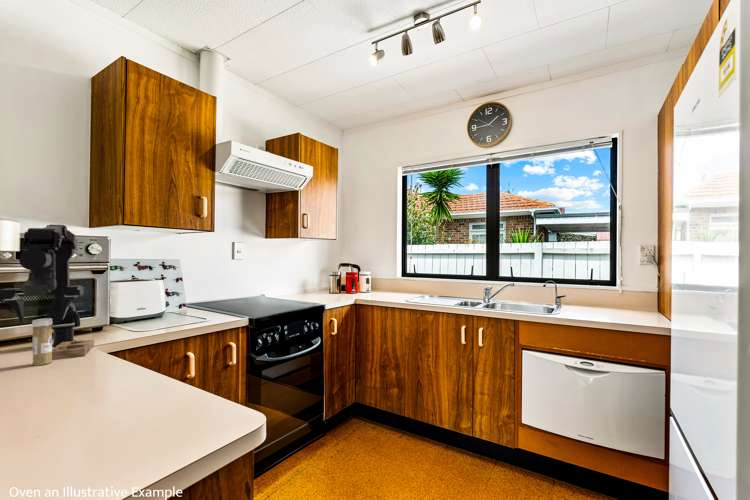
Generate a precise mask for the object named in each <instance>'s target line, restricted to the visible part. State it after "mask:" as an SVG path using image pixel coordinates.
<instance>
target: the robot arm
mask: <svg viewBox="0 0 750 500" xmlns="http://www.w3.org/2000/svg"><path fill="white" fill-rule="evenodd" d="M77 245H78V243H77V237H76V234H74V233H73V232H72V231H70V230H68V227H67V225H64V224H47V225H46V227H41V228H40V227H29V228H28V229H27V230H26V231H24V234H23V238H22V243H21V246H20V249H21V251H24V252H23V253H22V254H20V256H19V259H18V262H19V264H20V266H21V267H23V268H24V269H26V270H29V273H28V278H27V280H26V281H25V282H24V283H23V284H22V288H21V287H19V288H18V287H17V288H16V287H15V288H3V289H0V300H2V302H3V303H8V304H9V305H10V307H11V308H12V309H13V311H14V312H15V314H16V316H17V318H18V320H19V322H20V323H21V324H22V323H24V322H25V306H24V305H25V304H24V303H25V302H24V297H33V296H34V297H35V296H36V297H37V296H50V295H51V296H53V303H51V305H50V306H49V308H48V311H47V313H46V316H45V318H51V319H52V331H53V332H52V334H53V335H52V348H55V347H56V346H58V345H59V344H60V343H62V342H70V341H77V340H74V332H75V331H74V329H75V328H79V327H81V318H80V314H79V313H78V311H77V310H76V305H75V304H74V302H73V300H74V299H77V298H78V297H79V296H82V295H84V286H83V285H71V284H70V281H71V280H70V261H71V259H72V258H73V256H75V251H76V250H77V247H78V246H77Z"/></svg>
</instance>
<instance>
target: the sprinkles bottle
mask: <svg viewBox="0 0 750 500" xmlns="http://www.w3.org/2000/svg"><path fill="white" fill-rule="evenodd" d="M52 326H53V325H52V319H51V318H46V317H45V318H36V319H33V320H32V321H31V327H32V366H44V365H48V364H50V363H53V360H52V349H53V347H52V344H53V335H52V334H53V332H52V331H53V329H52Z"/></svg>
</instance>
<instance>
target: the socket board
mask: <svg viewBox="0 0 750 500" xmlns="http://www.w3.org/2000/svg"><path fill="white" fill-rule="evenodd" d="M94 346H95V339H93V338H92V339H85V340H84V339H83V340H81V339H79V340H76V341H70V342H62V343H60V344H59V345H58V346H55V347H53V348H52V361H54V360H62V359H73V358H78V357H80V358H81V357H85V356H86V355H87V354H88V353H89V352H90V351H91V350H92V349H93V348H94Z"/></svg>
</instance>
